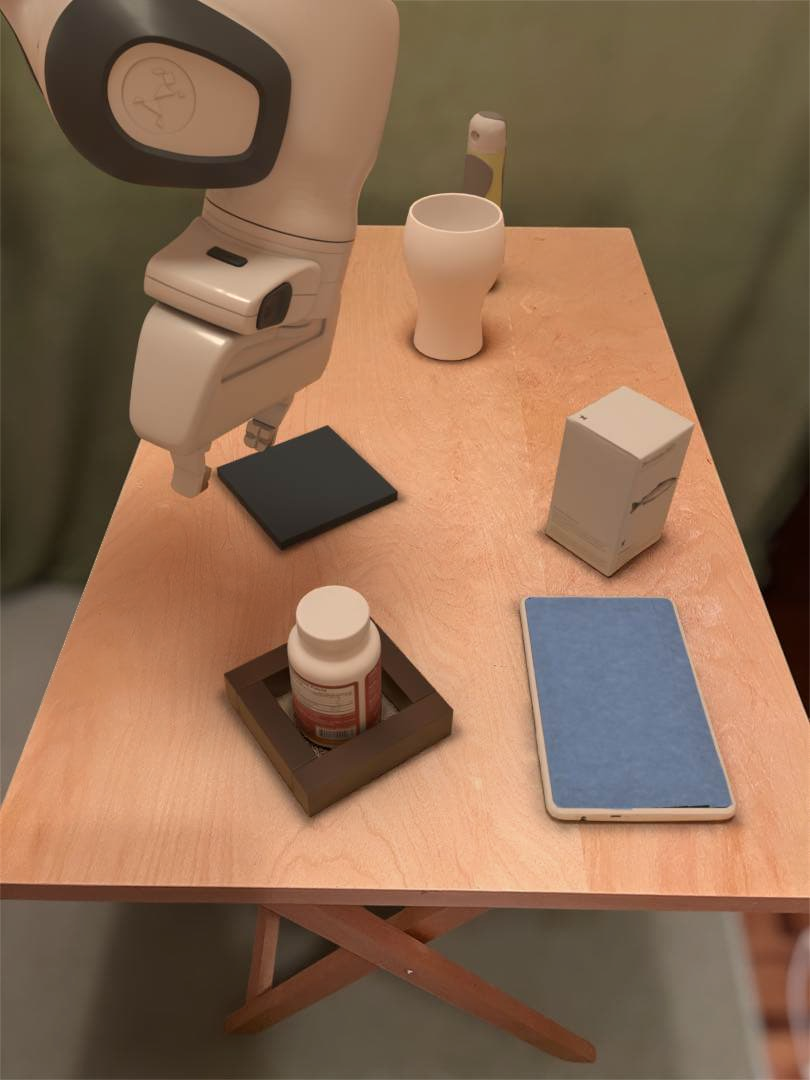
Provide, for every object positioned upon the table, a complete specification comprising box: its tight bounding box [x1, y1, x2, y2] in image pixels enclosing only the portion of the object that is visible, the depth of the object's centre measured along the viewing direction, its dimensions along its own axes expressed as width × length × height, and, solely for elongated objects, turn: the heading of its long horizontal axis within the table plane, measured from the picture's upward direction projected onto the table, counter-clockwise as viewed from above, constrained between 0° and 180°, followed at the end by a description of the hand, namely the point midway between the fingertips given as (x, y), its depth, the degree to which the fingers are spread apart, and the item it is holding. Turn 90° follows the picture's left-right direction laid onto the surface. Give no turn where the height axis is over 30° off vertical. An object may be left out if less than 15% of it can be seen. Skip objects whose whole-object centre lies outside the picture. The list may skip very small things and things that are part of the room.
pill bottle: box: [287, 584, 382, 749], centre depth 61 cm, size 6×6×11 cm
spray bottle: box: [462, 110, 508, 289], centre depth 105 cm, size 5×5×20 cm
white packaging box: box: [544, 384, 696, 577], centre depth 75 cm, size 7×7×13 cm
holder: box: [223, 615, 454, 818], centre depth 64 cm, size 12×12×3 cm
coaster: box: [216, 424, 399, 551], centre depth 83 cm, size 12×12×1 cm
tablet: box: [518, 595, 737, 822], centre depth 66 cm, size 19×13×1 cm, turn 1°
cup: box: [402, 192, 507, 361], centre depth 97 cm, size 11×11×15 cm
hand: (225, 467), depth 61 cm, fingers open, 8 cm apart
